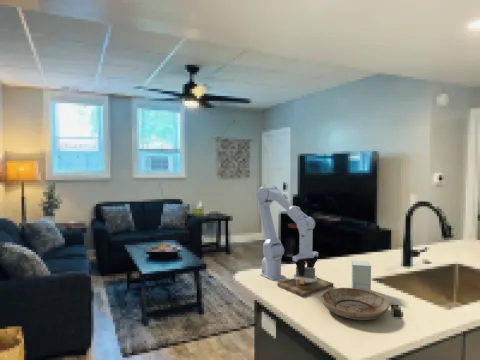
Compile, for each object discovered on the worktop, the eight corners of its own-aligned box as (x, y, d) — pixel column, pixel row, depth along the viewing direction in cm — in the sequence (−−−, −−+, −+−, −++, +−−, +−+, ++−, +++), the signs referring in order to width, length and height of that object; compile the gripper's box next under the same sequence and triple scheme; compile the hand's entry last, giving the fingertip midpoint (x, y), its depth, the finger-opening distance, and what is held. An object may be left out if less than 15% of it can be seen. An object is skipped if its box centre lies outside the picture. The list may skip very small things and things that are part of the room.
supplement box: (368, 289, 144) (369, 260, 143) (370, 295, 137) (371, 265, 136) (351, 287, 146) (351, 259, 145) (352, 293, 139) (352, 264, 138)
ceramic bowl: (336, 294, 139) (336, 282, 138) (396, 310, 124) (396, 297, 123) (310, 313, 121) (311, 300, 120) (377, 334, 106) (377, 319, 106)
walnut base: (277, 286, 147) (277, 275, 147) (308, 277, 159) (308, 267, 159) (302, 297, 135) (302, 285, 135) (333, 286, 147) (333, 276, 147)
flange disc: (297, 273, 154) (297, 263, 153) (319, 276, 149) (319, 266, 149) (290, 282, 143) (290, 270, 142) (313, 285, 138) (313, 274, 138)
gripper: (301, 248, 139) (300, 280, 139) (323, 243, 147) (323, 273, 148) (289, 245, 144) (289, 275, 145) (311, 241, 153) (311, 269, 154)
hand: (305, 274), depth 147 cm, fingers closed on flange disc, 5 cm apart
